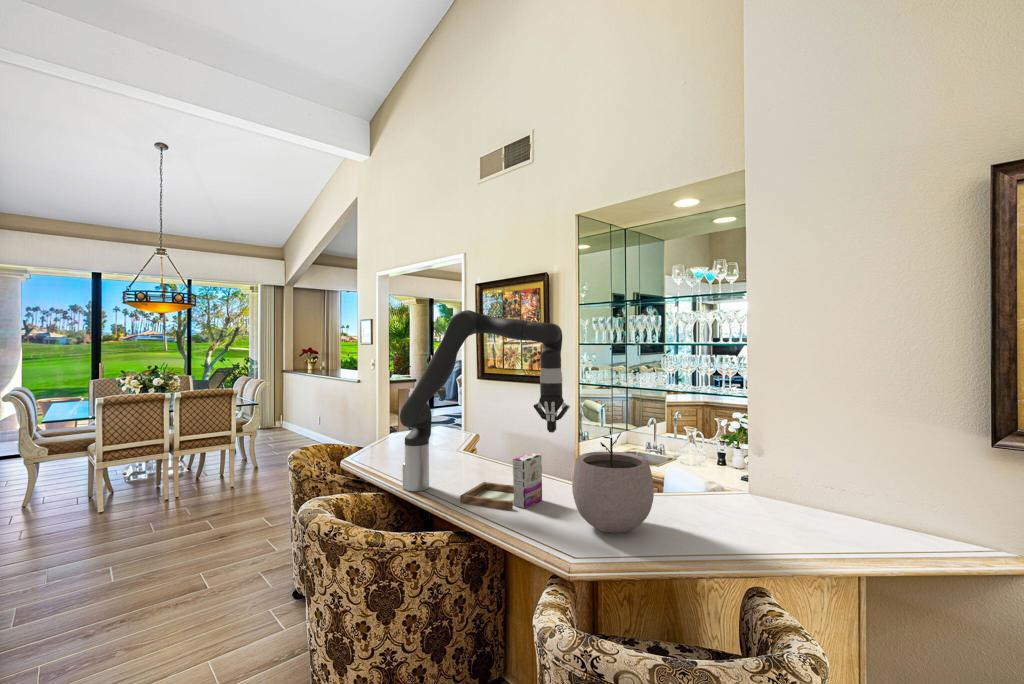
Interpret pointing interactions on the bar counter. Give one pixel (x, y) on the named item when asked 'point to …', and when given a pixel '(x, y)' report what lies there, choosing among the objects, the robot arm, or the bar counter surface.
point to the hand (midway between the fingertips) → (551, 432)
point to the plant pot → (613, 489)
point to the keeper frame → (490, 496)
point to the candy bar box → (527, 480)
